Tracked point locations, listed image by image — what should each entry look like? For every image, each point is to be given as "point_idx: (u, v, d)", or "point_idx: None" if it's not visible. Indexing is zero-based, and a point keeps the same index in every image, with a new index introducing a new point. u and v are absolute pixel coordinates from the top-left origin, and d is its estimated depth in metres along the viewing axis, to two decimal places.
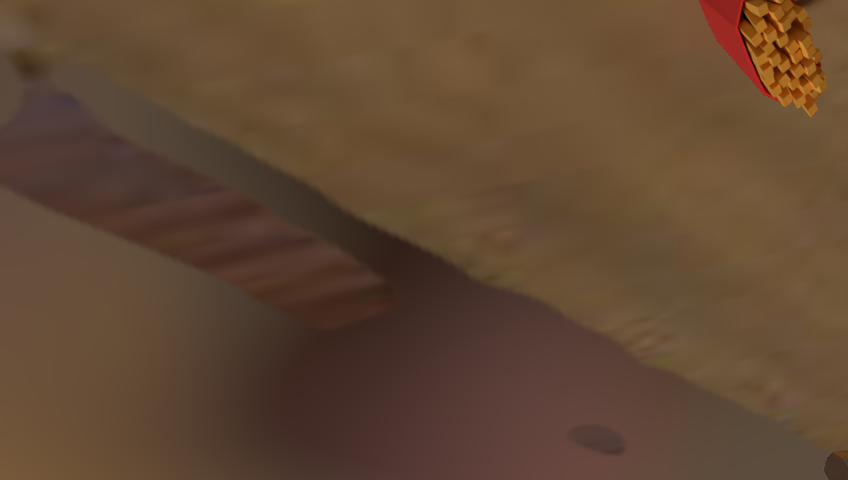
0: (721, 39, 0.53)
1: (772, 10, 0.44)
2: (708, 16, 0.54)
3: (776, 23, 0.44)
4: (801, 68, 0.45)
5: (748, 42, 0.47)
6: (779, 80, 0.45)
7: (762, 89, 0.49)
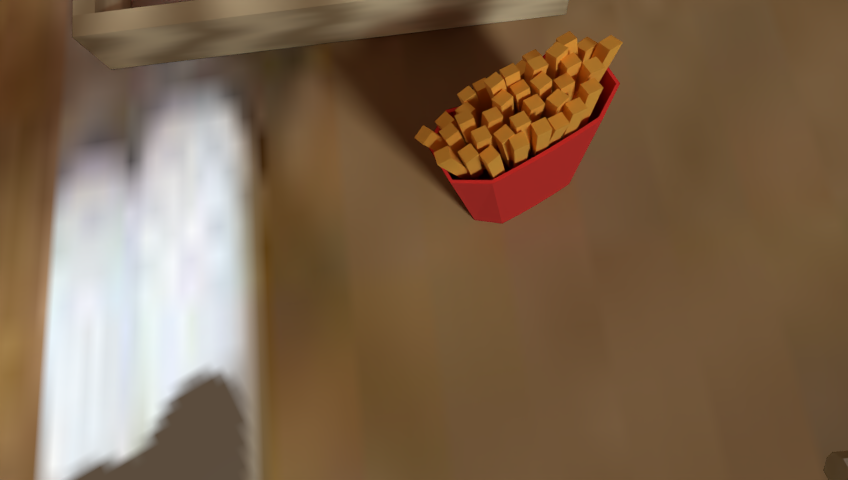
0: (553, 184, 0.37)
1: (446, 141, 0.29)
2: (525, 205, 0.38)
3: (465, 131, 0.28)
4: (537, 77, 0.28)
5: (514, 160, 0.30)
6: (556, 106, 0.28)
7: (593, 122, 0.31)
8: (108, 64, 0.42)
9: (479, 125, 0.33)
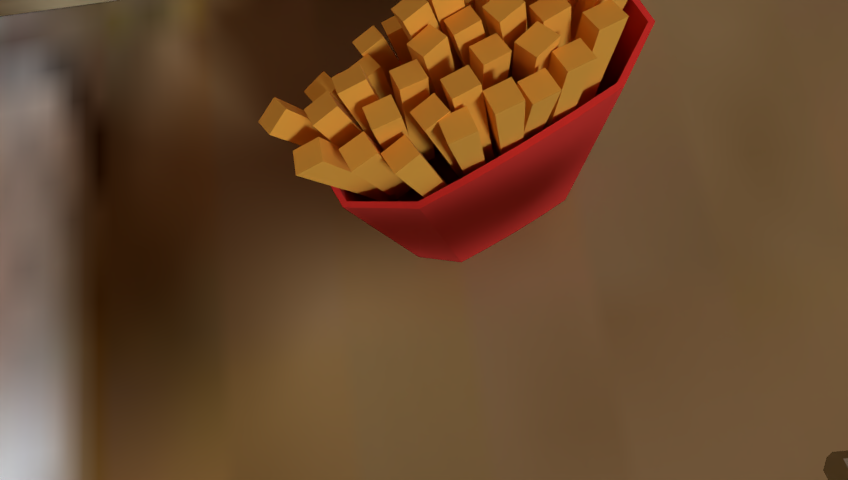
0: (538, 202, 0.23)
1: (319, 129, 0.15)
2: (495, 235, 0.24)
3: (356, 108, 0.14)
4: (496, 0, 0.14)
5: (459, 164, 0.16)
6: (534, 55, 0.14)
7: (607, 93, 0.16)
8: None
9: None
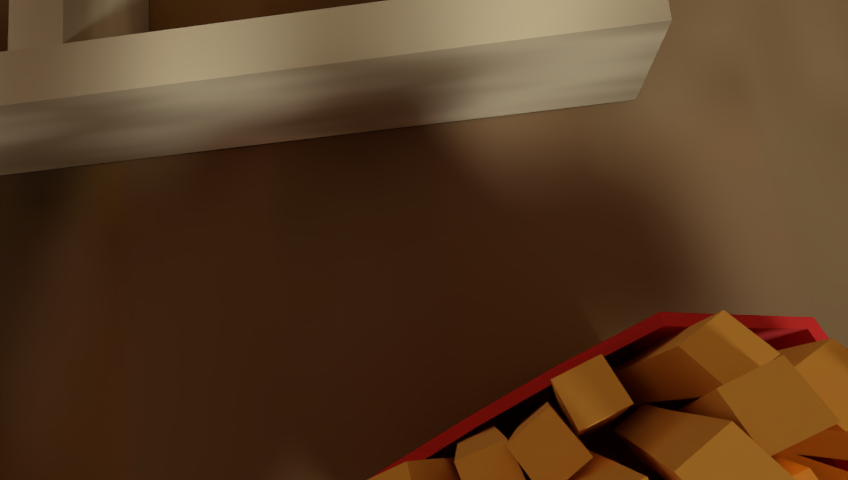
0: None
1: None
2: None
3: None
4: None
5: None
6: None
7: None
8: None
9: None
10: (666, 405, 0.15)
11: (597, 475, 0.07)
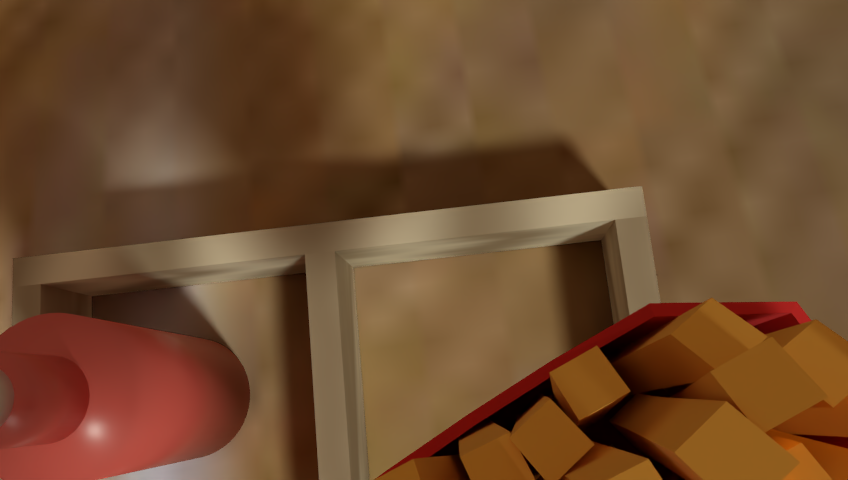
0: None
1: None
2: None
3: None
4: None
5: None
6: None
7: None
8: None
9: None
10: (657, 395, 0.15)
11: (599, 461, 0.07)
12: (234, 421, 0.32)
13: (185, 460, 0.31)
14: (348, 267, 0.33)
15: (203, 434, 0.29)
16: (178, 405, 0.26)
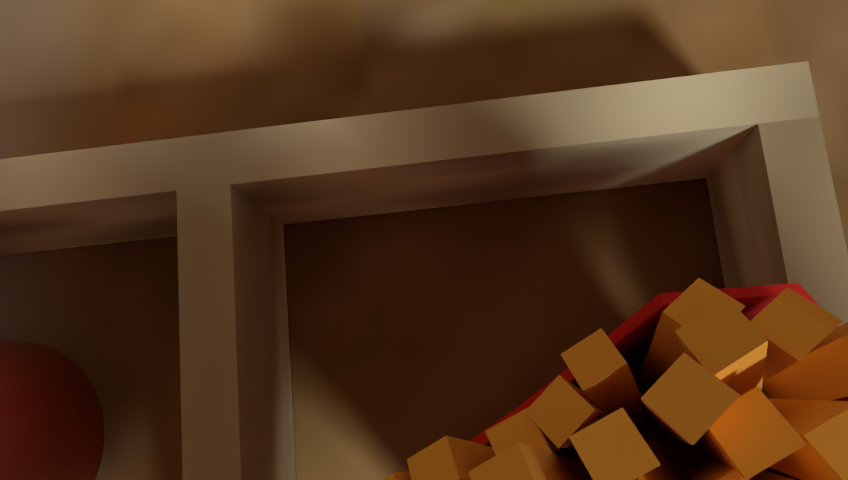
0: None
1: None
2: None
3: None
4: None
5: None
6: None
7: None
8: None
9: None
10: None
11: None
12: None
13: None
14: (269, 221, 0.19)
15: None
16: None
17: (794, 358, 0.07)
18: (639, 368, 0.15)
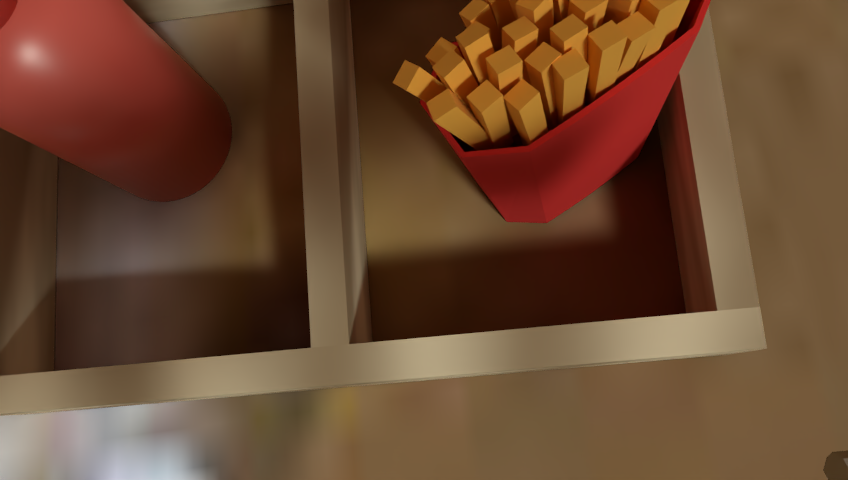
0: (617, 156, 0.25)
1: (446, 82, 0.17)
2: (578, 193, 0.26)
3: (477, 61, 0.17)
4: None
5: (561, 109, 0.19)
6: (629, 0, 0.16)
7: (685, 36, 0.19)
8: (17, 414, 0.28)
9: None
10: None
11: None
12: (212, 150, 0.28)
13: (155, 186, 0.27)
14: None
15: (172, 134, 0.25)
16: (135, 59, 0.22)
17: None
18: None
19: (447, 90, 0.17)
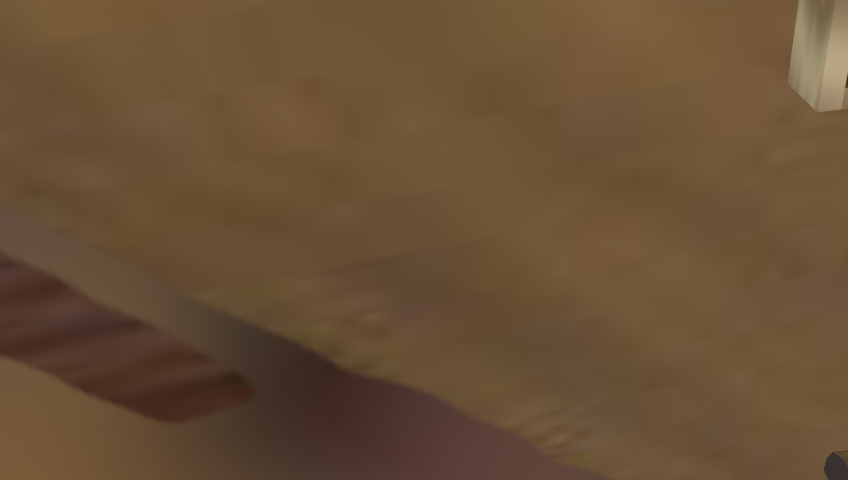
0: None
1: None
2: None
3: None
4: None
5: None
6: None
7: None
8: None
9: None
10: None
11: None
12: None
13: None
14: None
15: None
16: None
17: None
18: None
19: None
